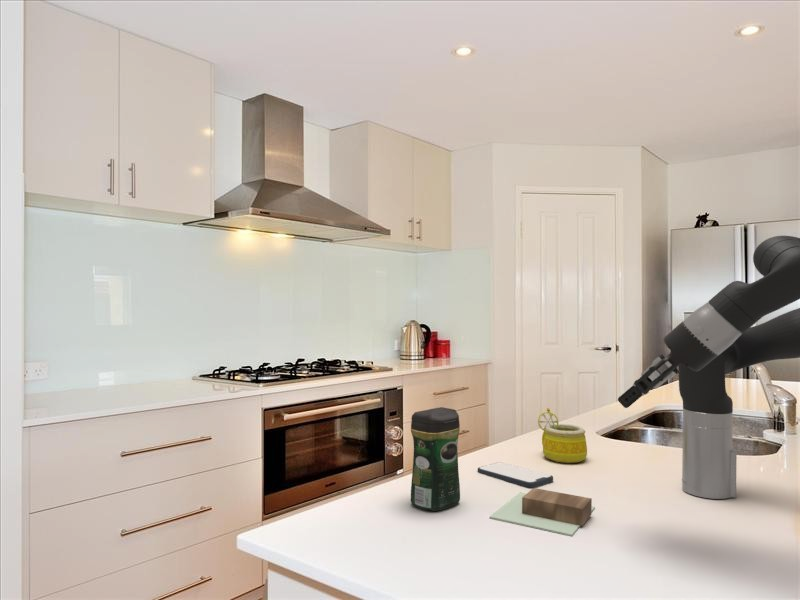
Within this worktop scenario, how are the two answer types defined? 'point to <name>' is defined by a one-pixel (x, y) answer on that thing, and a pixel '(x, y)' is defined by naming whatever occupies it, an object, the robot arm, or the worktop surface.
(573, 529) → the mat
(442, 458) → the coffee jar
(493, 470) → the smartphone
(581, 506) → the walnut block
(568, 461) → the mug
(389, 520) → the worktop surface
